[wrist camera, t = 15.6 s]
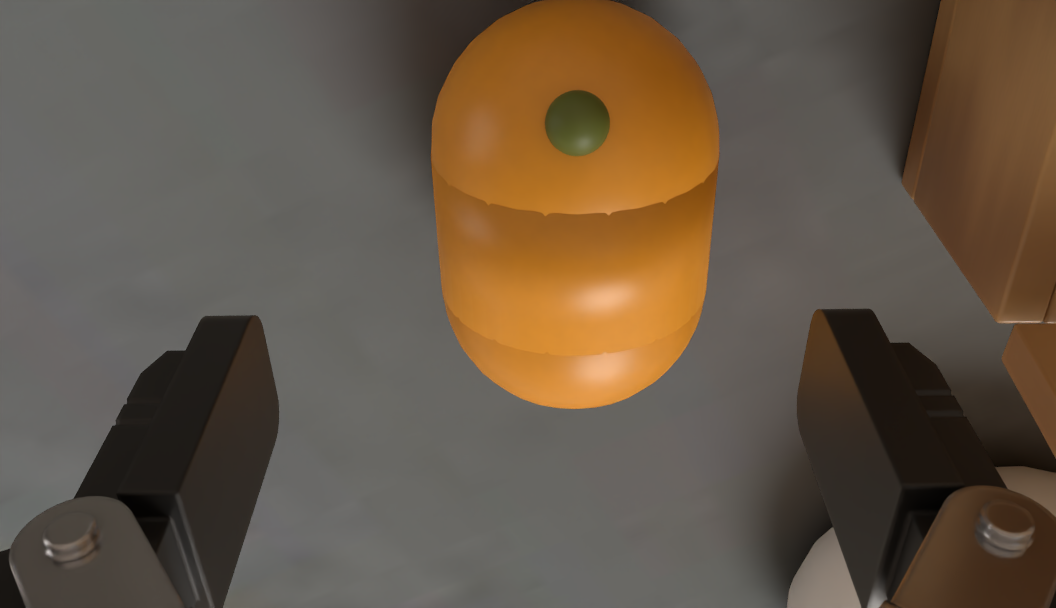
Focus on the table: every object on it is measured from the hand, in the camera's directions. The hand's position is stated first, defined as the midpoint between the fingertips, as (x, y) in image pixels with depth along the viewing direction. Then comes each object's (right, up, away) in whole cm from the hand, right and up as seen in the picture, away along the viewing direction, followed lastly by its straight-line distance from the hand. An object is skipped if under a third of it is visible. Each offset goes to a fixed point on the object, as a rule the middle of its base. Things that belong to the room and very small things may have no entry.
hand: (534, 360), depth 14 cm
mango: (+1, +4, +6) cm, 7 cm away
